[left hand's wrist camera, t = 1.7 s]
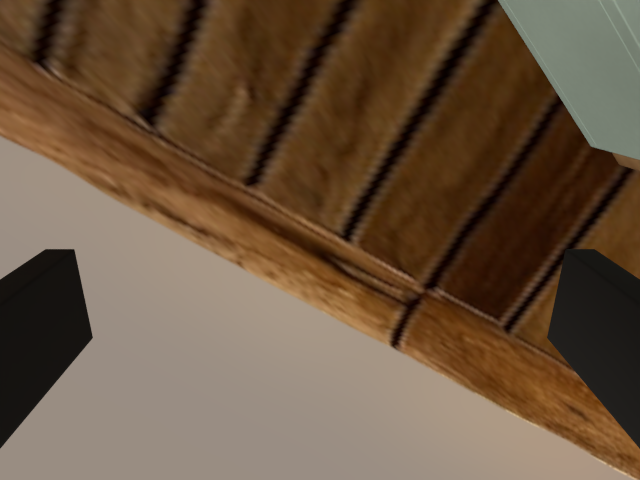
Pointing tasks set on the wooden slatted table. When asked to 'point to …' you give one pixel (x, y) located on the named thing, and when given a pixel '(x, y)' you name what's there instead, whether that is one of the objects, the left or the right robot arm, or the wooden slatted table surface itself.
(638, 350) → the left robot arm
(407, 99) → the wooden slatted table surface
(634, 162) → the drawer
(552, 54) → the cabinet
